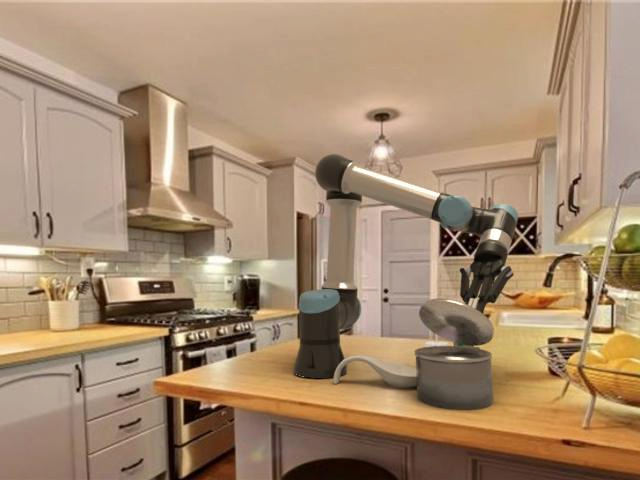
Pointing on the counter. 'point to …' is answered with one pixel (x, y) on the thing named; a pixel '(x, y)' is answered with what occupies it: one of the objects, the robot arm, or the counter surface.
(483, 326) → the lid
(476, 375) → the cooker pot
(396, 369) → the spoon rest
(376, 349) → the counter surface
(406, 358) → the counter surface
